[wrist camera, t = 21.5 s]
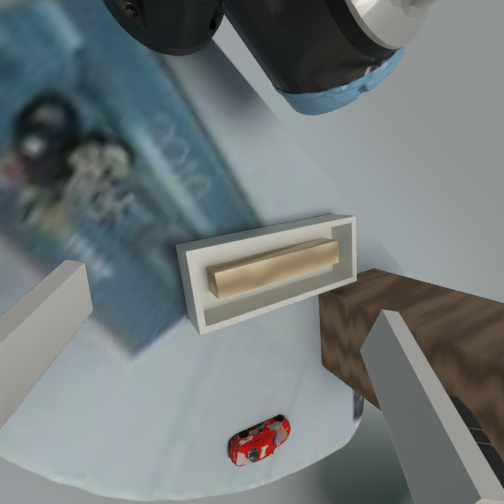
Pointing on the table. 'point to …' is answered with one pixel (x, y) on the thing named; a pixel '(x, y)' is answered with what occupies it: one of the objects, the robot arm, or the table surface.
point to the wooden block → (422, 339)
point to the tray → (271, 295)
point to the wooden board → (270, 266)
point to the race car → (259, 441)
